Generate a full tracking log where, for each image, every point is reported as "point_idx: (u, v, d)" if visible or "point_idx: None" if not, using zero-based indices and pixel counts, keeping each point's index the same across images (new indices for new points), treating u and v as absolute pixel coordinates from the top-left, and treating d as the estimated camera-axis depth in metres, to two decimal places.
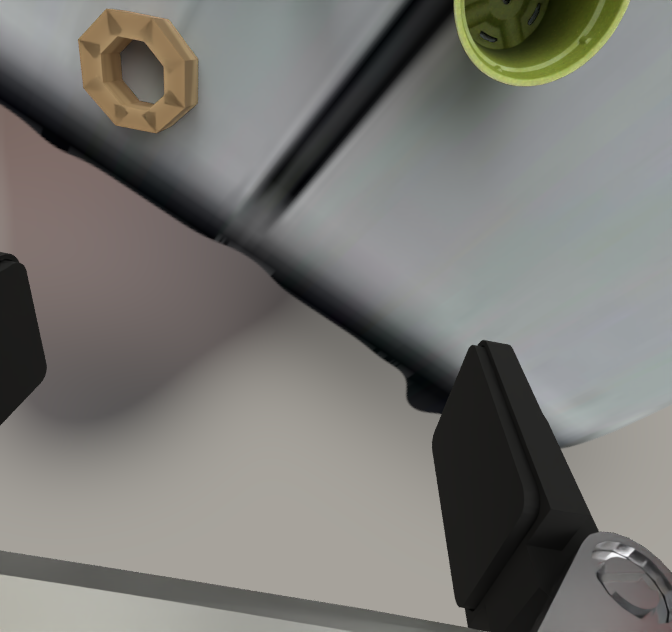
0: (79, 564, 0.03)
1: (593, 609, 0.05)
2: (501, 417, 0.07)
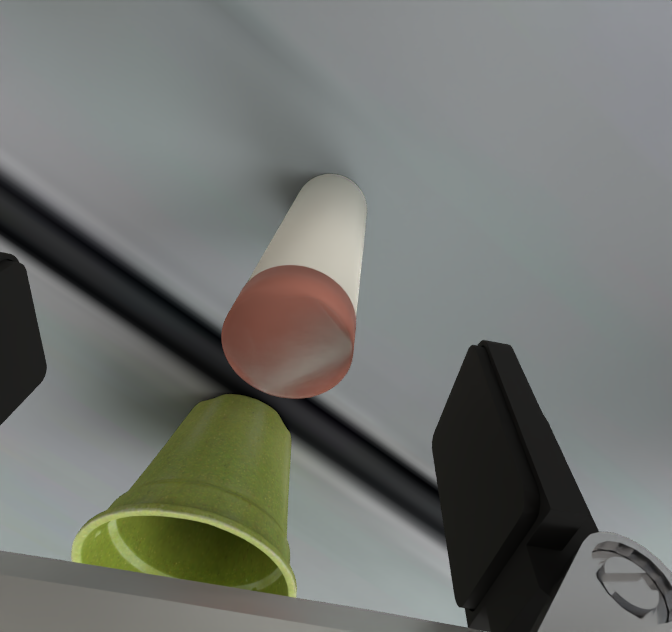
0: (79, 564, 0.03)
1: (593, 609, 0.05)
2: (501, 417, 0.07)
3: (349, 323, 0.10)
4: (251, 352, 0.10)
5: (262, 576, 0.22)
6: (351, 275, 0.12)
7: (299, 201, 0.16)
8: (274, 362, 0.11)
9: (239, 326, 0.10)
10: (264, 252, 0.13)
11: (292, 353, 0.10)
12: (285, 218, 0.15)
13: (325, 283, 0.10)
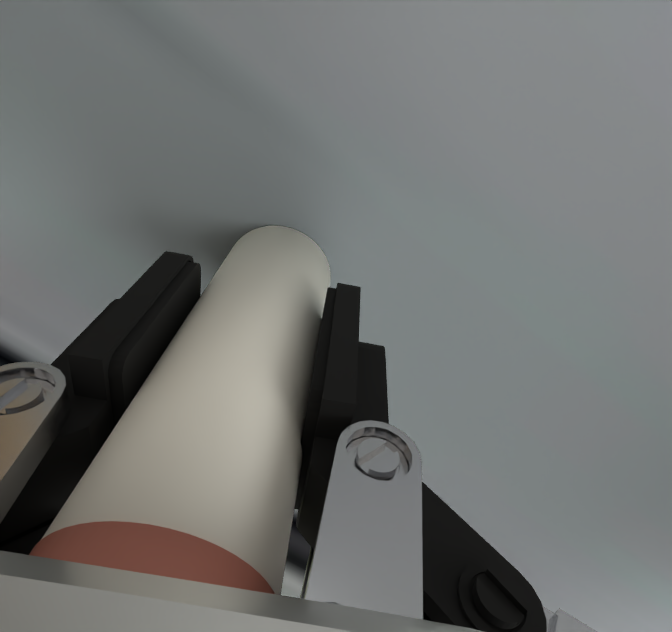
0: (79, 563, 0.03)
1: (356, 493, 0.06)
2: (322, 339, 0.08)
3: None
4: None
5: None
6: (275, 481, 0.06)
7: (214, 285, 0.10)
8: None
9: None
10: (125, 411, 0.07)
11: None
12: (185, 321, 0.09)
13: (191, 578, 0.04)
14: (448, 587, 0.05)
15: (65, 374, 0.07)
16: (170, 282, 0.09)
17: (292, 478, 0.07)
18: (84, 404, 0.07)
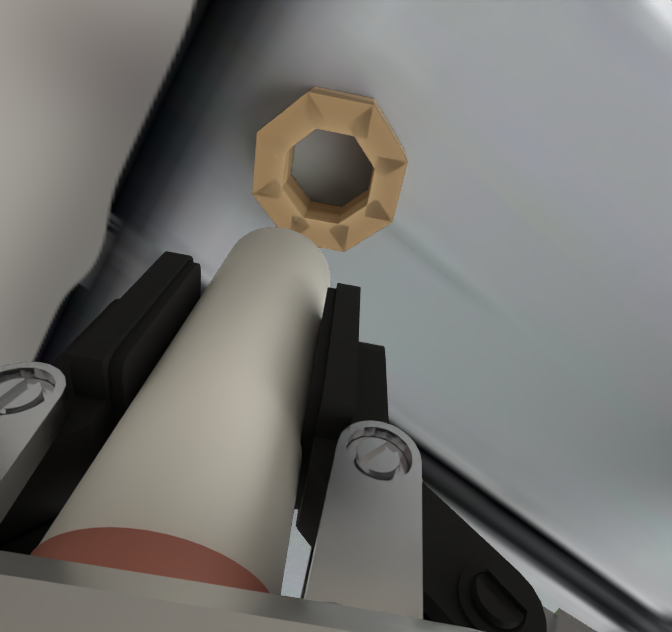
0: (80, 564, 0.03)
1: (356, 493, 0.06)
2: (322, 339, 0.08)
3: None
4: None
5: None
6: (274, 485, 0.06)
7: (213, 287, 0.10)
8: None
9: None
10: None
11: None
12: (184, 323, 0.09)
13: None
14: (448, 587, 0.05)
15: (65, 374, 0.07)
16: (170, 282, 0.09)
17: (291, 482, 0.07)
18: (84, 404, 0.07)
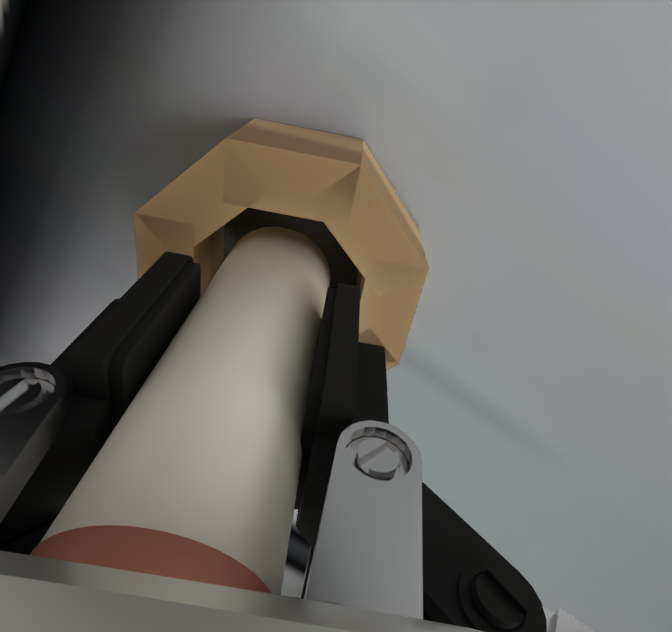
0: (79, 564, 0.03)
1: (356, 493, 0.06)
2: (322, 339, 0.08)
3: None
4: None
5: None
6: (275, 484, 0.06)
7: (213, 286, 0.10)
8: None
9: None
10: None
11: None
12: (184, 323, 0.09)
13: None
14: (448, 587, 0.05)
15: (65, 374, 0.07)
16: (170, 282, 0.09)
17: (291, 481, 0.07)
18: (84, 404, 0.07)
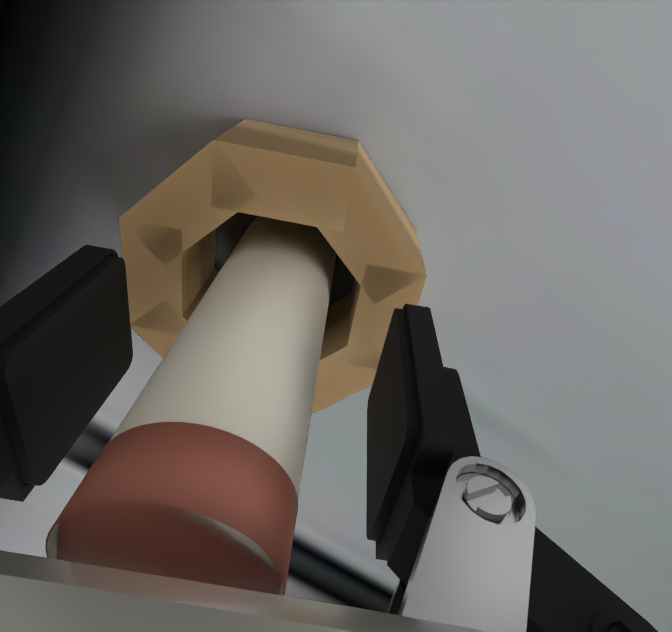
0: (79, 564, 0.03)
1: (462, 528, 0.05)
2: (404, 365, 0.08)
3: (276, 537, 0.06)
4: None
5: None
6: (293, 407, 0.07)
7: (233, 258, 0.11)
8: None
9: (75, 548, 0.06)
10: (164, 356, 0.08)
11: None
12: (209, 288, 0.10)
13: (233, 462, 0.06)
14: None
15: None
16: (82, 276, 0.08)
17: (306, 410, 0.08)
18: None
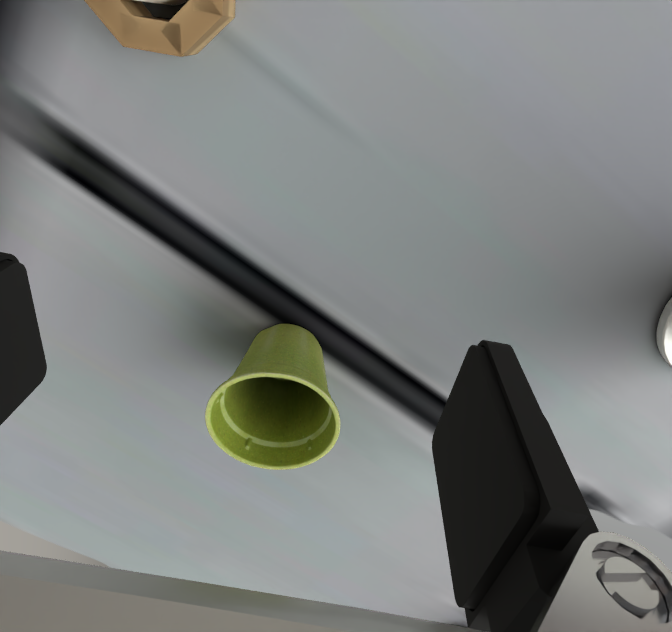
0: (78, 565, 0.03)
1: (593, 609, 0.05)
2: (501, 417, 0.07)
3: None
4: None
5: (314, 431, 0.35)
6: None
7: None
8: None
9: None
10: None
11: None
12: None
13: None
14: None
15: None
16: None
17: None
18: None
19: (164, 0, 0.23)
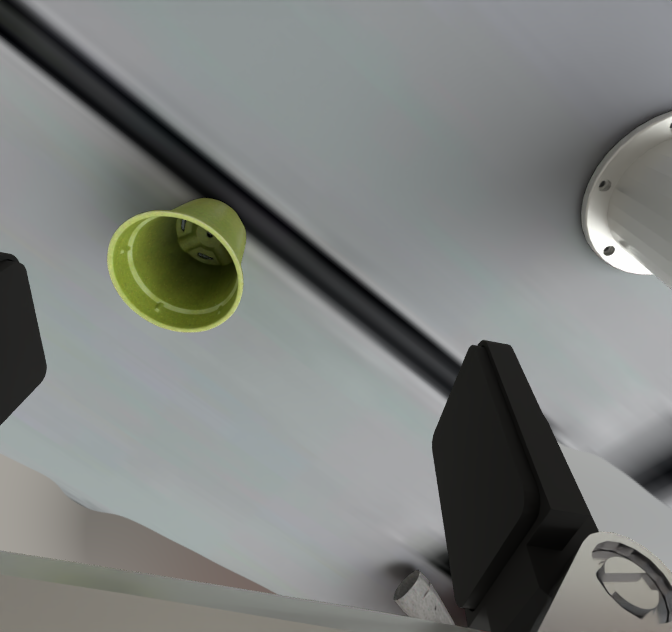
0: (79, 564, 0.03)
1: (593, 609, 0.05)
2: (501, 417, 0.07)
3: None
4: None
5: (225, 298, 0.34)
6: None
7: None
8: None
9: None
10: None
11: None
12: None
13: None
14: None
15: None
16: None
17: None
18: None
19: None
